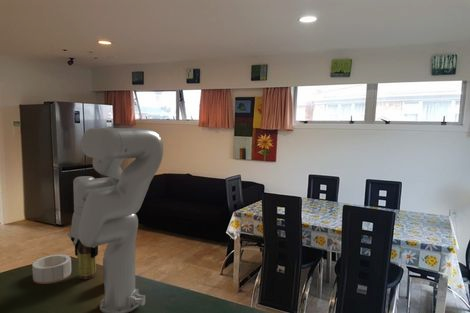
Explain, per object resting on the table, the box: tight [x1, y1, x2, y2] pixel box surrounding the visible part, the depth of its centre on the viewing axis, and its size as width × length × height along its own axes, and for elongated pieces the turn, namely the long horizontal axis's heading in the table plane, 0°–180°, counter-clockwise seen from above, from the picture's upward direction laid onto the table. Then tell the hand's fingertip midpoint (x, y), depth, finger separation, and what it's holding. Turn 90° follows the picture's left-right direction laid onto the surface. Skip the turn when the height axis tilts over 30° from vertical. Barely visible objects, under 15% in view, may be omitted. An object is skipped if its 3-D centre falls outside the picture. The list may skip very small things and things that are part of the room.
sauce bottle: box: [76, 240, 97, 280], centre depth 122 cm, size 7×6×20 cm
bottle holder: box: [31, 253, 72, 285], centre depth 123 cm, size 13×13×6 cm
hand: (86, 255), depth 122 cm, fingers closed on sauce bottle, 6 cm apart
